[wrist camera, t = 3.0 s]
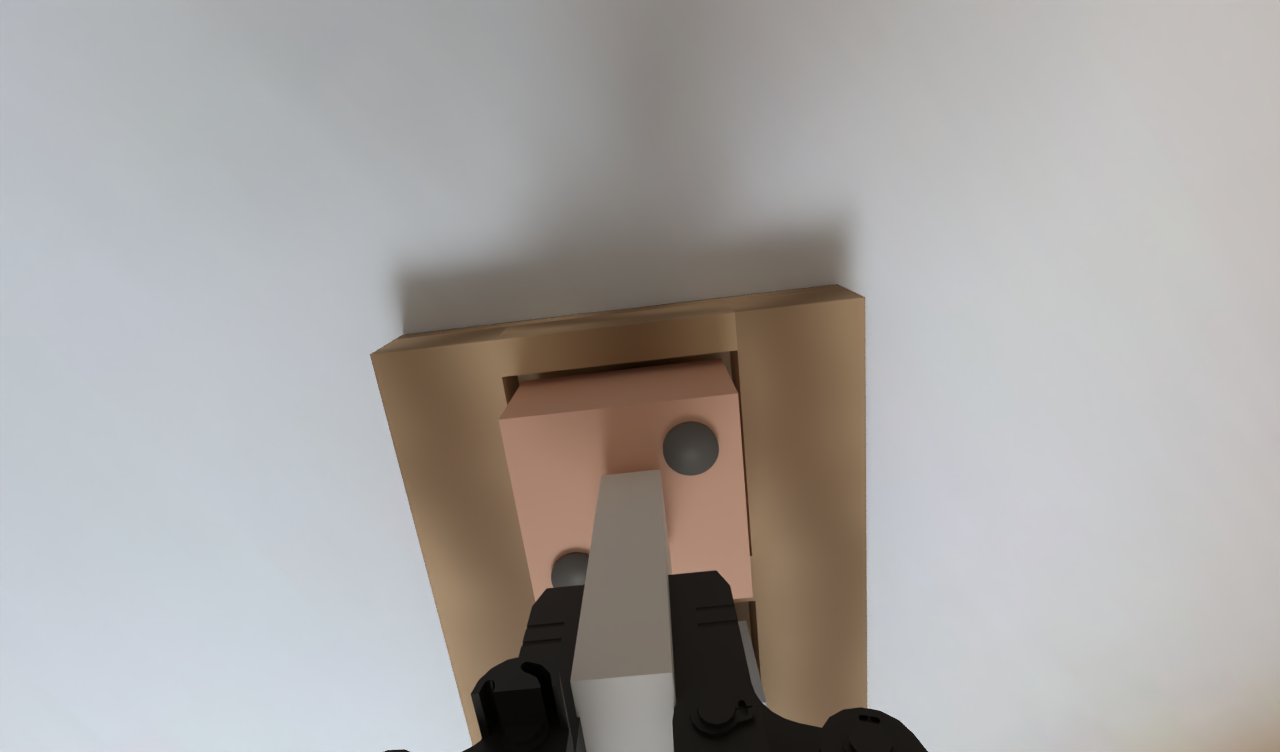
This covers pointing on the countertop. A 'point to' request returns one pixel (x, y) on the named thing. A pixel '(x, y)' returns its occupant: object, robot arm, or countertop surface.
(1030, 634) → the countertop surface
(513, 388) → the tile board
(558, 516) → the tile three
